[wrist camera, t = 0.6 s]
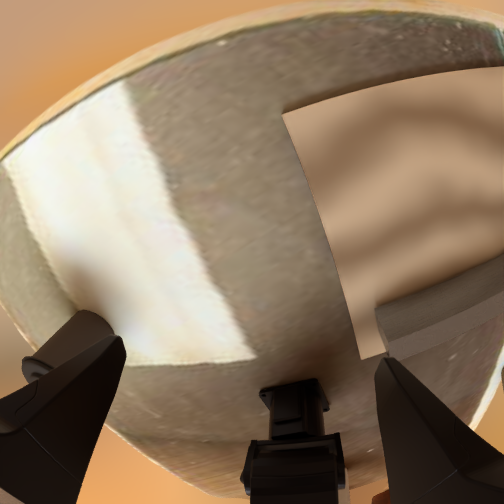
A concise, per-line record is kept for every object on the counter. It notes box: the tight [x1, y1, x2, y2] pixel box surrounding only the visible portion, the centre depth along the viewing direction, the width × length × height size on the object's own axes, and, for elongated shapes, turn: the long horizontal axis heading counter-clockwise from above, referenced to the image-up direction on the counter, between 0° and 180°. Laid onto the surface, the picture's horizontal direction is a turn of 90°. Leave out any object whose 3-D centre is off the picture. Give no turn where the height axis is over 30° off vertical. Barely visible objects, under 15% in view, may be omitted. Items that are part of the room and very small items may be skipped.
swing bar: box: [374, 254, 504, 361], centre depth 18 cm, size 17×4×4 cm, turn 113°
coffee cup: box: [22, 310, 114, 384], centre depth 23 cm, size 8×8×10 cm
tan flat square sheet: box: [282, 66, 504, 360], centre depth 19 cm, size 22×22×1 cm
